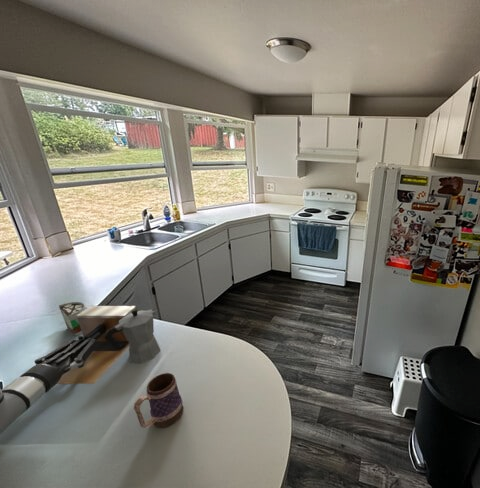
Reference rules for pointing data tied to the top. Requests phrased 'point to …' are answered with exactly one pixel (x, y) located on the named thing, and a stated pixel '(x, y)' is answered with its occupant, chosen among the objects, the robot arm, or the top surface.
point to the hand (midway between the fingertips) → (103, 327)
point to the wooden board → (94, 364)
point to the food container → (72, 315)
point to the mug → (161, 402)
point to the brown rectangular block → (104, 319)
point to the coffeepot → (137, 335)
